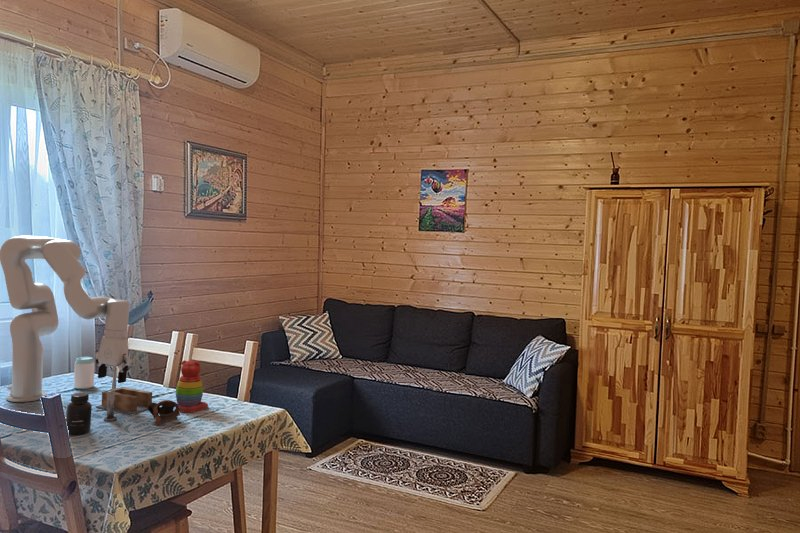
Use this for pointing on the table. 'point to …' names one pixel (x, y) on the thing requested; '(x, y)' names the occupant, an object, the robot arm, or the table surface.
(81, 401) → the supplement bottle
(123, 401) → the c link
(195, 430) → the table surface
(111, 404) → the post
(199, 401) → the stacking bear
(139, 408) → the mat
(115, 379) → the tow hook
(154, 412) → the pottery mug
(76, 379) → the can
